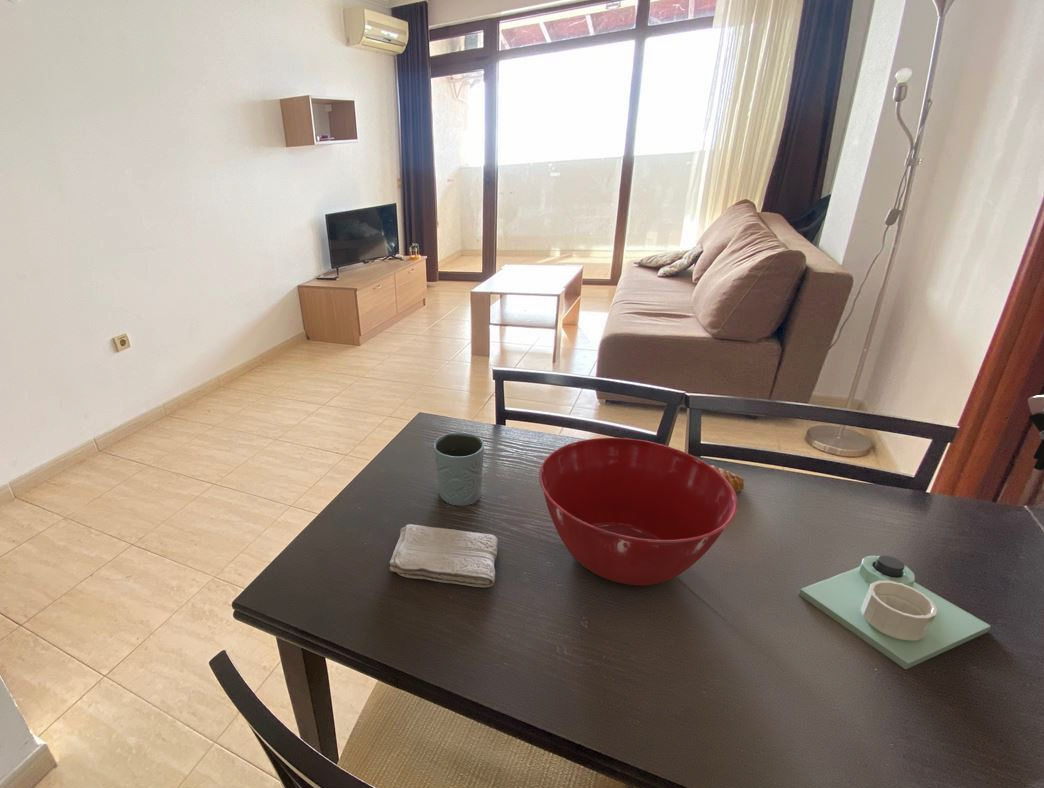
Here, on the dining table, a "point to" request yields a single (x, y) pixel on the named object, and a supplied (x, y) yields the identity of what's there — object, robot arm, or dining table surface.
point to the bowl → (898, 610)
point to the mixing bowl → (635, 507)
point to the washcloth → (445, 556)
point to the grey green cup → (459, 467)
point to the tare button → (889, 566)
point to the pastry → (732, 479)
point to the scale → (844, 605)
